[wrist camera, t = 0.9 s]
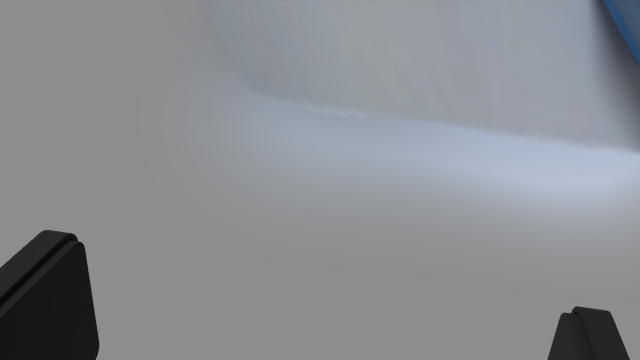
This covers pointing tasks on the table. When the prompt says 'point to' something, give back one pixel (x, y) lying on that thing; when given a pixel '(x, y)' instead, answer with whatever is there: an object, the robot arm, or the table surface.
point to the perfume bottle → (627, 22)
